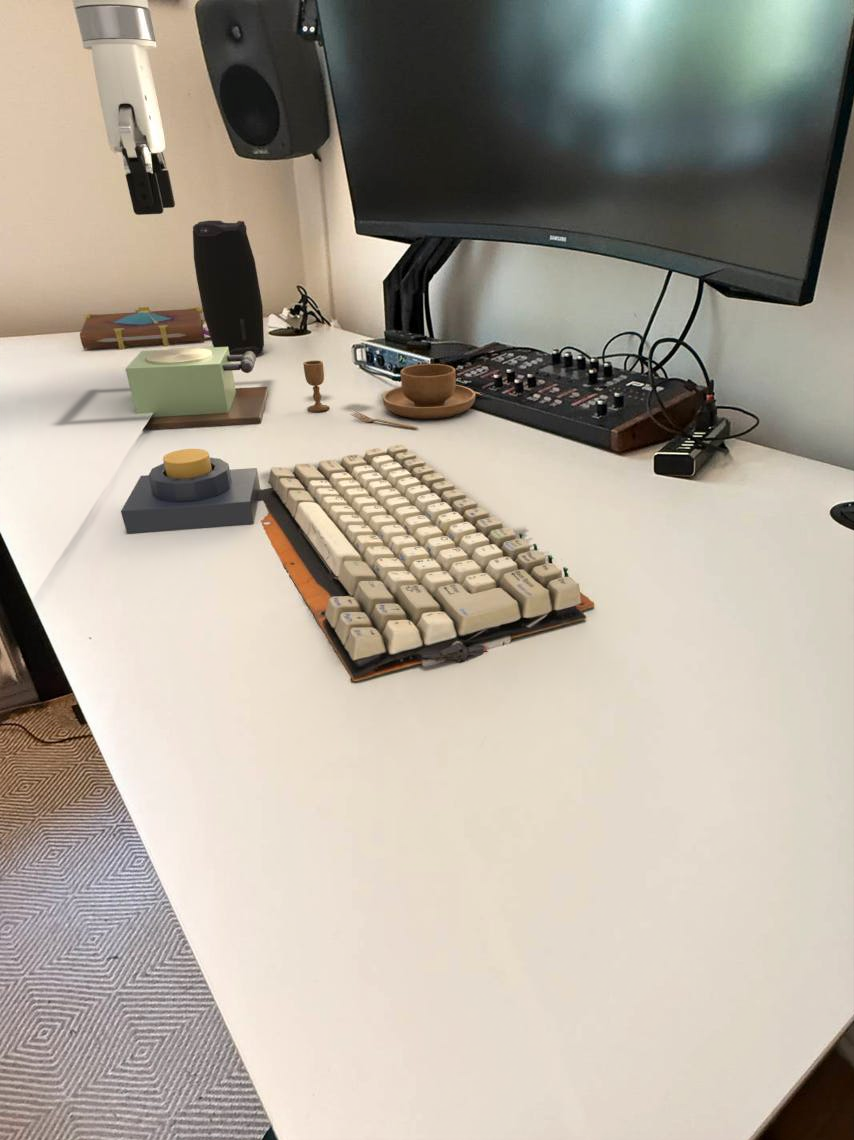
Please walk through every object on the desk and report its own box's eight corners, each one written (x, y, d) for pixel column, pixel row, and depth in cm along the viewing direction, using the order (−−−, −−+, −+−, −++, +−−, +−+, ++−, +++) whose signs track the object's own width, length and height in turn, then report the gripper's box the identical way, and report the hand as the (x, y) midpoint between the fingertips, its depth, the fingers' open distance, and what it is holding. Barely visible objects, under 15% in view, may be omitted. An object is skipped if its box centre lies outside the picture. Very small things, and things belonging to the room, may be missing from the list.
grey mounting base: (126, 534, 71) (115, 491, 69) (146, 496, 78) (136, 457, 76) (253, 524, 72) (246, 482, 70) (260, 488, 80) (253, 449, 78)
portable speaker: (215, 350, 135) (191, 220, 125) (271, 348, 136) (252, 218, 126) (207, 361, 128) (182, 224, 118) (267, 359, 129) (246, 222, 119)
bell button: (163, 483, 72) (159, 464, 71) (170, 468, 75) (166, 449, 74) (209, 480, 72) (205, 461, 71) (214, 465, 75) (211, 447, 74)
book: (231, 346, 142) (226, 316, 139) (82, 357, 136) (73, 326, 133) (227, 324, 155) (223, 297, 152) (91, 333, 149) (83, 305, 146)
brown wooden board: (65, 435, 96) (63, 428, 96) (95, 401, 109) (93, 395, 108) (260, 423, 99) (259, 416, 99) (268, 392, 112) (267, 386, 111)
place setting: (430, 433, 94) (428, 382, 91) (300, 411, 103) (294, 364, 100) (501, 398, 107) (501, 352, 104) (380, 381, 116) (377, 338, 113)
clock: (124, 366, 95) (249, 359, 97) (140, 348, 104) (255, 342, 106) (137, 418, 99) (258, 411, 101) (152, 397, 107) (263, 391, 109)
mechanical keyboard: (236, 497, 79) (230, 464, 77) (414, 467, 86) (413, 436, 84) (359, 697, 50) (354, 652, 48) (612, 627, 57) (616, 585, 56)
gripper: (98, 40, 93) (136, 207, 102) (60, 22, 79) (108, 218, 88) (164, 39, 94) (196, 204, 103) (139, 21, 80) (179, 215, 89)
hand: (156, 210), depth 96 cm, fingers open, 9 cm apart
